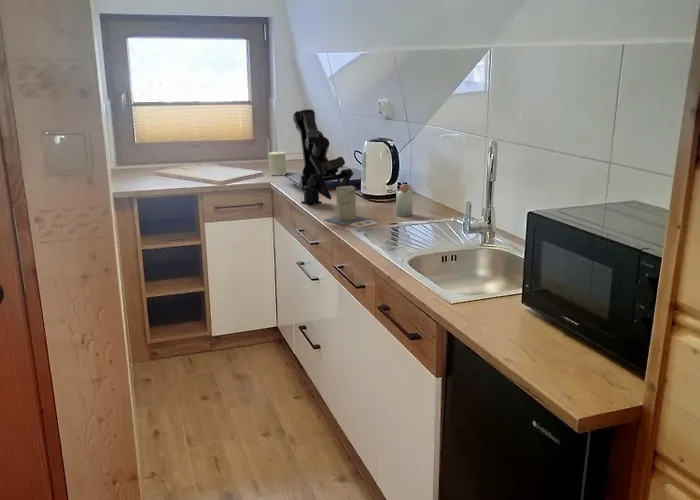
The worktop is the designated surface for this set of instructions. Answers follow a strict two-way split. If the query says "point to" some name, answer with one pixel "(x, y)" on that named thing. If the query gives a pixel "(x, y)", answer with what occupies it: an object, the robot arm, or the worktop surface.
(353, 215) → the skincare box
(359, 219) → the mat
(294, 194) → the worktop surface
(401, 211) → the perfume bottle
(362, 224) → the card
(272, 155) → the can
